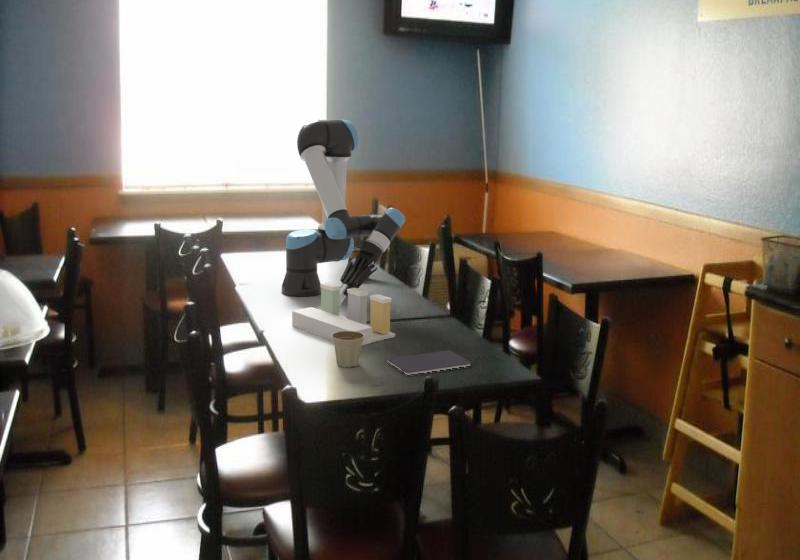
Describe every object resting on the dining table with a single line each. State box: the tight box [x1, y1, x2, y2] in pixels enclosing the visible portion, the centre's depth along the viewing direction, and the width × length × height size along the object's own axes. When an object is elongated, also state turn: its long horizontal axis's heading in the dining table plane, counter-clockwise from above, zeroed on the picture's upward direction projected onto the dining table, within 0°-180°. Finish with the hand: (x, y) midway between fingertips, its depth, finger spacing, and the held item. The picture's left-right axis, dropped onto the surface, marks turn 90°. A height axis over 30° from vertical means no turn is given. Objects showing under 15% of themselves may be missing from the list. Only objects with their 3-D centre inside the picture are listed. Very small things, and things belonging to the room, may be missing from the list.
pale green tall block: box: [320, 282, 342, 316], centre depth 272 cm, size 3×6×11 cm, turn 44°
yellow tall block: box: [369, 293, 393, 334], centre depth 259 cm, size 3×6×11 cm, turn 44°
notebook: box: [385, 350, 472, 376], centre depth 235 cm, size 13×2×21 cm
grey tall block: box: [347, 288, 369, 325], centre depth 266 cm, size 3×6×11 cm, turn 44°
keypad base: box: [291, 306, 396, 346], centre depth 263 cm, size 18×30×5 cm, turn 44°
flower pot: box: [331, 331, 365, 368], centre depth 232 cm, size 9×9×9 cm
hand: (337, 301), depth 274 cm, fingers closed
